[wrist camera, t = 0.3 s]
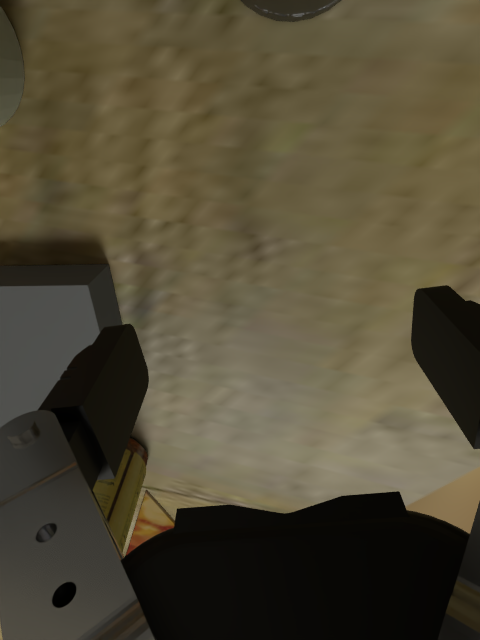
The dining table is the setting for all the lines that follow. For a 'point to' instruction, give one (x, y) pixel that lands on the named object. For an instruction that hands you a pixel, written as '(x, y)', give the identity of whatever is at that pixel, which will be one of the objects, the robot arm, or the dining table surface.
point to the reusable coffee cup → (9, 70)
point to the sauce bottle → (123, 491)
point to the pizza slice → (150, 522)
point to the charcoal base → (48, 327)
